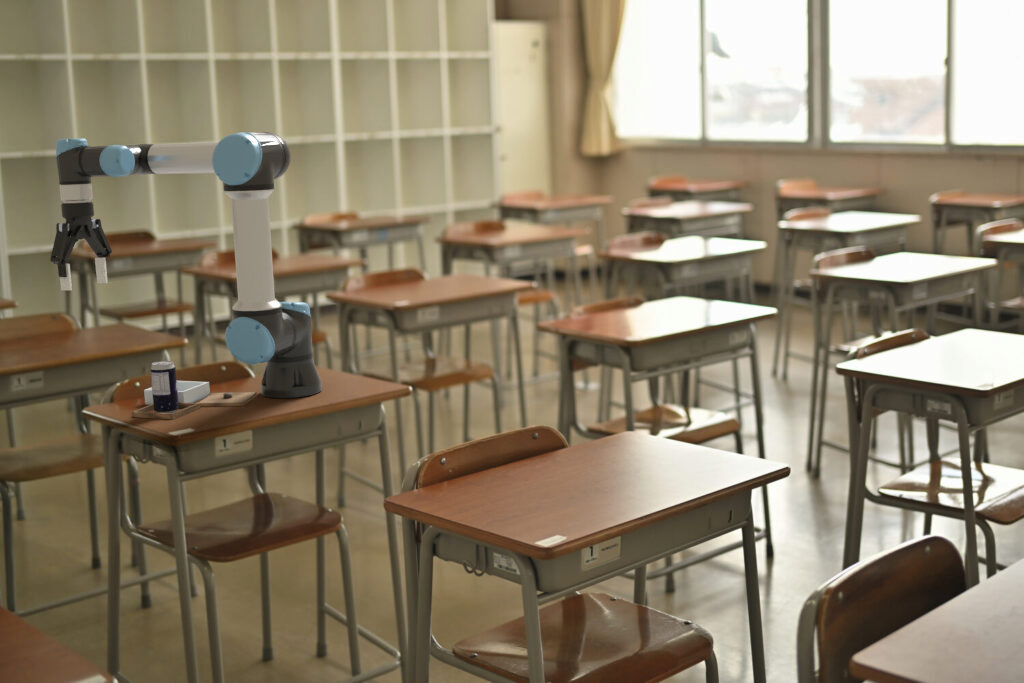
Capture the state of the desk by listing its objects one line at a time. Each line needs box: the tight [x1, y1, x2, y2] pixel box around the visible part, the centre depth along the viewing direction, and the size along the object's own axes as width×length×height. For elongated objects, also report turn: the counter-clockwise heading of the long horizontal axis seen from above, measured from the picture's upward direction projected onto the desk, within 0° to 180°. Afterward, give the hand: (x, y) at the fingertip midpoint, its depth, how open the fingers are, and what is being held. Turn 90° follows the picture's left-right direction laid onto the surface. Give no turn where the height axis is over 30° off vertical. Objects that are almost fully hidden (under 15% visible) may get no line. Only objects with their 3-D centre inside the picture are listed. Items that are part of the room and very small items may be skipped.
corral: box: [131, 402, 201, 420], centre depth 281 cm, size 11×11×1 cm
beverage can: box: [150, 360, 180, 413], centre depth 280 cm, size 6×6×12 cm
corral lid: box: [198, 391, 257, 407], centre depth 291 cm, size 11×11×2 cm
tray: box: [143, 380, 211, 406], centre depth 293 cm, size 11×11×4 cm
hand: (84, 286), depth 297 cm, fingers open, 13 cm apart
